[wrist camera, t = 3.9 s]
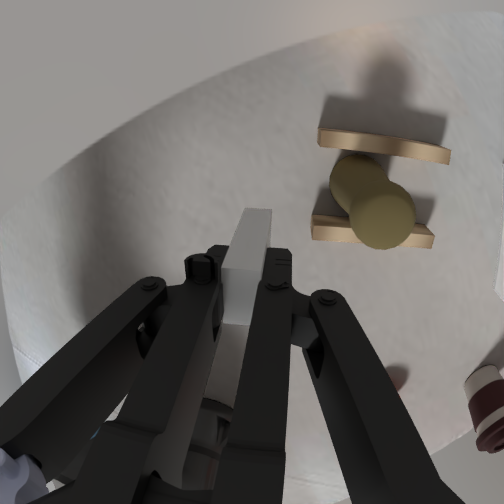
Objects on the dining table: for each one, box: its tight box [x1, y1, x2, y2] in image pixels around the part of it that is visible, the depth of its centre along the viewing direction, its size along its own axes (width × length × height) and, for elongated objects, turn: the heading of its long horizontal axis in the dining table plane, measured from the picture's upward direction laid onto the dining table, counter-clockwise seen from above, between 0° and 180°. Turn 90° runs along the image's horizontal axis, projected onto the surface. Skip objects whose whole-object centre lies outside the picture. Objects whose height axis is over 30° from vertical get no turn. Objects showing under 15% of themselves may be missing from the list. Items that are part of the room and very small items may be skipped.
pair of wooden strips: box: [311, 128, 451, 249], centre depth 28 cm, size 13×10×3 cm
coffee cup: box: [464, 365, 504, 453], centre depth 35 cm, size 10×10×15 cm
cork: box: [329, 154, 416, 250], centre depth 25 cm, size 6×6×11 cm
